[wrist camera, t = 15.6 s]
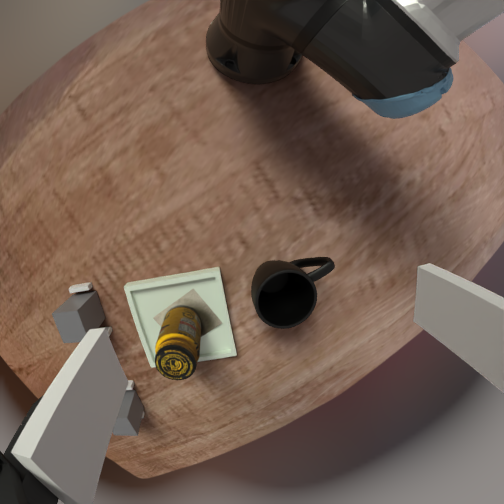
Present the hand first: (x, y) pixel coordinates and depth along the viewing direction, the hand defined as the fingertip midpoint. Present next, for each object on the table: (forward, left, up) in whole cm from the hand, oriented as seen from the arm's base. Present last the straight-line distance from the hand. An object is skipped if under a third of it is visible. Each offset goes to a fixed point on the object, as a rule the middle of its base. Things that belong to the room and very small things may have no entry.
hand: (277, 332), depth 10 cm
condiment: (+14, -9, -32) cm, 36 cm away
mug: (+9, +7, -33) cm, 35 cm away
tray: (+14, -10, -32) cm, 37 cm away
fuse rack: (+20, -26, -32) cm, 46 cm away
